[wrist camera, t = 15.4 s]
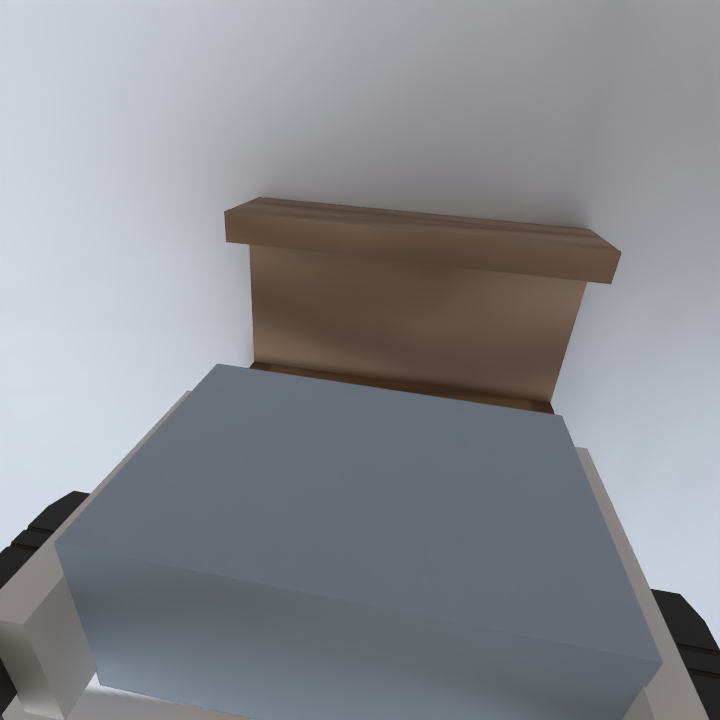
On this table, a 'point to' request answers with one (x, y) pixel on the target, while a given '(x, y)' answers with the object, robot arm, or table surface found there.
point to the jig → (416, 298)
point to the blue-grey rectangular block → (357, 561)
